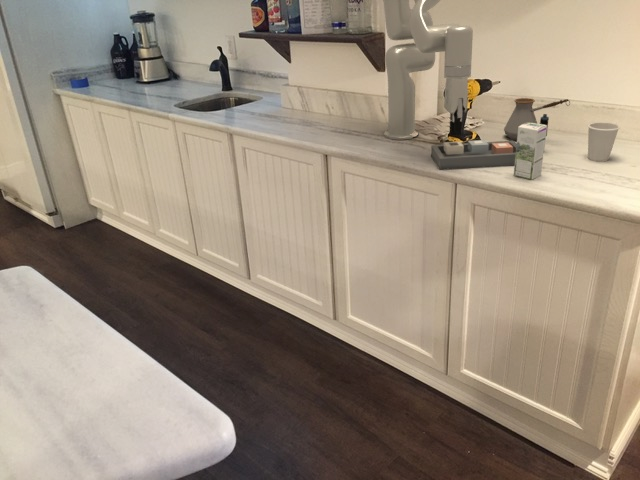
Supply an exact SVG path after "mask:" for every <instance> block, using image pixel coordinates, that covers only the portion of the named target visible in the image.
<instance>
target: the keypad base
mask: <svg viewBox="0 0 640 480" xmlns="http://www.w3.org/2000/svg"><path fill="white" fill-rule="evenodd" d="M486 142H487V143H488V144H489V148H488V152H482V153H471V152H470V151H469V149H468V142H466V143H465V142H463V143H462V144H463V146H464V152H463V154H449V155H447V154H446V153H445V151H444V144H433V145H431V146H430V147H431V148H430V157H431V158H432V160H433V161H434V164H435V165H436V166H437V168H438V170H439V171H445V170H446V171H447V170H460V169H463V170H464V169H478V168H495V167H511V166H513V167H515V156H516V146H517V142H516V141H515V140H499V141H498V140H497V141H486ZM492 143H509V144H510V145H512V146H513V153H500V154H494V153H493V152H492V151H491V150H492Z"/></svg>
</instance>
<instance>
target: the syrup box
mask: <svg viewBox="0 0 640 480" xmlns="http://www.w3.org/2000/svg"><path fill="white" fill-rule="evenodd" d="M546 131H547V132H548V128H547V125H542V124H540V123H537V124H535V123H524V124H522V125H521V126H519V127H518V135H517V140H516V144H517V146H516V156H515V166H513V168H514V170H513V176H514V177H518V178H522V179H526V180H531V181H532V180H534V179H536V178H539V177H540V176H541V175H542V173H543V171H542V170H543V161H544V160H543V159H544V153H545V147H546V139H547V138H546V137H547V136H546ZM544 146H545V147H544Z"/></svg>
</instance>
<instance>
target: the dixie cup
mask: <svg viewBox="0 0 640 480" xmlns="http://www.w3.org/2000/svg"><path fill="white" fill-rule="evenodd" d="M587 127H588V137H587V138H588V139H587V159H588V160H590V161H593V162H608V161H609V160H610V156H611V154H612V150H613V147H614V144H615V141H616V138H617V135H618V131H619V130H620V128H621V126H620V125H619V124H617V123H612V122H606V121H604V122H603V121H600V122H599V121H597V122H592V123H589V124H588V125H587Z"/></svg>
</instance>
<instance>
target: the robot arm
mask: <svg viewBox="0 0 640 480" xmlns="http://www.w3.org/2000/svg"><path fill="white" fill-rule="evenodd" d="M382 1H383V10H384V20H385V29H386V34H387V36H388V39H390V40H391V41H396V42H397V41H406V40H409V41H410V40H413V41H414V42H413V43H401V44H395V45H392V46H390V47H389V48H388V49H387V50H386V52H385V56H384V63H385V68H386V74H387V76H386V77H387V93H388V94H387V95H388V96H387V98H388V99H387V100H388V103H387V104H388V107H387V109H388V111H387V112H388V115H387V116H388V117H387V118H388V119H387V120H388V121H387V122H388V123H387V124H388V127H387V128H388V129H387V130H385V131H384V133H383V136H384V137H385V138H387V139H391V140H399V141H403V140H412V139H413V138H412V135H410V134H412V133H413V132H414V131H415V129H416V126H415V125H416V120H415V119H416V84H415V81H414V80H413V78H412V77H411V76H410V74H411V73H415V72H423V71H424V72H425V71H428V70H431V69H432V68H433V67H434V65H435V63H436V53H441V52H442V53H443V52H444V66H443V67H444V70H443V73H444V74H443V78H445V86H444V99H443V107H444V109H445V110H446V111H447V112H448V113H449V134H450V136H459V135H462V126H463V113H466V112H467V111H468V99H469V97H468V94H469V93H468V92H469V91H468V90H469V88H468V85H469V84H468V83H469V82H468V81H469V79H468V78H471V76H472V57H473V56H472V55H473V37H474V34H473V33H474V32H473V31H474V30H473V28H472V26H470V25H460V24H458V23H447V24H434V23H433V22H434V21H433V18H432V15H431V14H430V12H429V10H430V9H433V8H434V7H436V5H438V4H439V3H440V2H441V0H413V1H414V5H413V7H412V9H411V7H410V0H382Z"/></svg>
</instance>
